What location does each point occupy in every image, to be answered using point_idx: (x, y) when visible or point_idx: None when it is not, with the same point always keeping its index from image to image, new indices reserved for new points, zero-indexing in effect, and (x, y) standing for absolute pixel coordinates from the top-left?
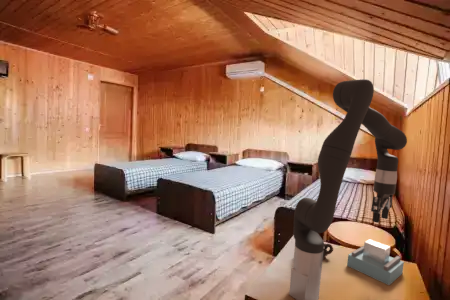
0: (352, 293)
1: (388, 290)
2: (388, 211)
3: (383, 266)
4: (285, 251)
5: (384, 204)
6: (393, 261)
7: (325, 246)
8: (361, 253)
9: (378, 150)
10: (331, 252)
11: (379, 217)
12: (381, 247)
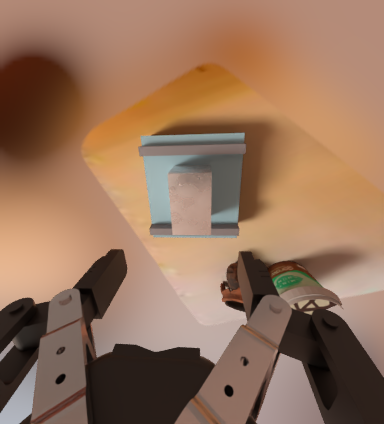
0: (339, 168)
1: (262, 124)
2: (85, 281)
3: (223, 160)
4: None
5: (240, 388)
6: (190, 148)
7: None
8: None
9: None
10: (234, 263)
11: (255, 272)
12: (204, 188)
